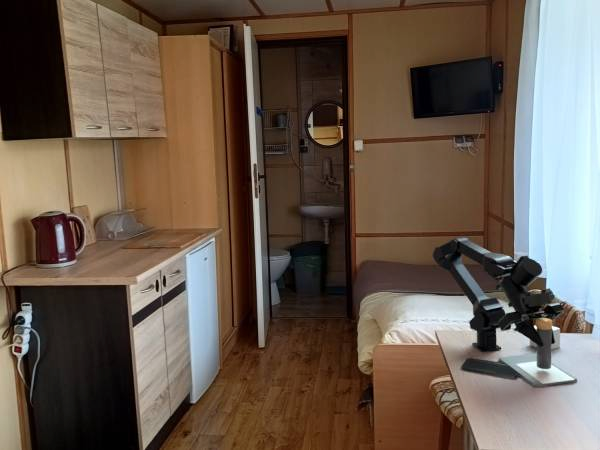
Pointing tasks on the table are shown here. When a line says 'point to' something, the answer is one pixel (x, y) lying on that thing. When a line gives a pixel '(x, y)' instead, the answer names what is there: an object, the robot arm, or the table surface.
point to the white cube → (556, 336)
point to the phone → (489, 368)
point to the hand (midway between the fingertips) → (548, 344)
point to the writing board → (537, 370)
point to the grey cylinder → (546, 336)
